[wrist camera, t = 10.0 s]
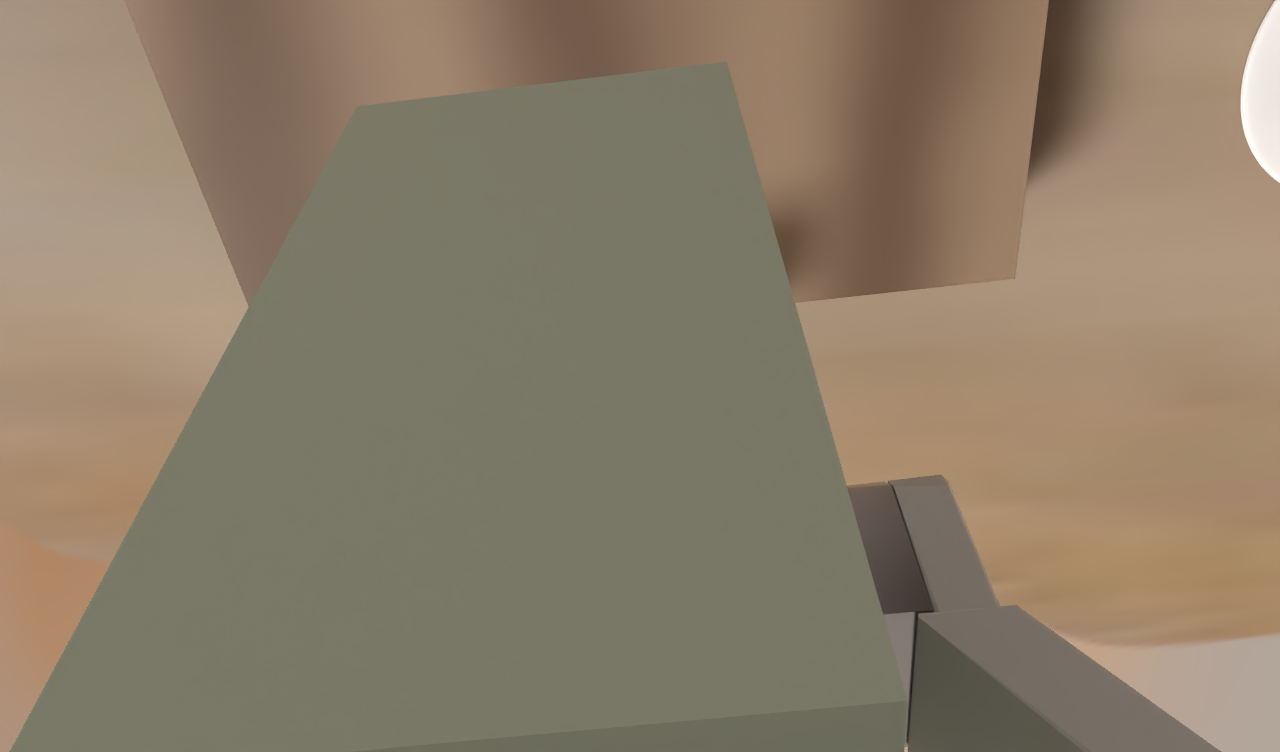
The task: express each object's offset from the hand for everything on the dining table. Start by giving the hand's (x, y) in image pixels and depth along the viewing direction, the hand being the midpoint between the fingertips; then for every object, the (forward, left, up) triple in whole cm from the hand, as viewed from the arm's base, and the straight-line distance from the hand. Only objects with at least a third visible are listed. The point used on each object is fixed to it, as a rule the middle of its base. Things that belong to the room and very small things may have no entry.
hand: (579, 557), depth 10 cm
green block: (0, 0, -4) cm, 4 cm away
